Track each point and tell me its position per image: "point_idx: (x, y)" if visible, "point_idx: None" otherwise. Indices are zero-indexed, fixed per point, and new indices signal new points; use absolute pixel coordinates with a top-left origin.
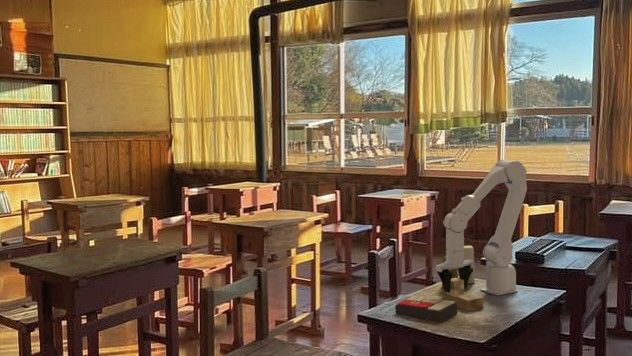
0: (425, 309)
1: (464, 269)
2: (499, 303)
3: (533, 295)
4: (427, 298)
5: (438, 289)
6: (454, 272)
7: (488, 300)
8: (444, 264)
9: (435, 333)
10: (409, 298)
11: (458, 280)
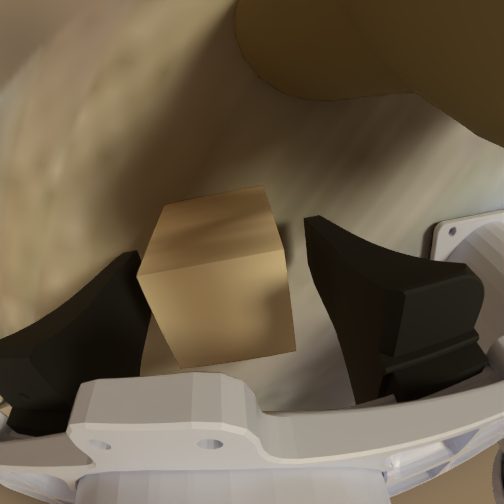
0: None
1: (368, 399)
2: (329, 405)
3: None
4: (5, 409)
5: (169, 50)
6: (395, 90)
7: (323, 375)
8: (47, 494)
9: None
10: None
11: (243, 344)
